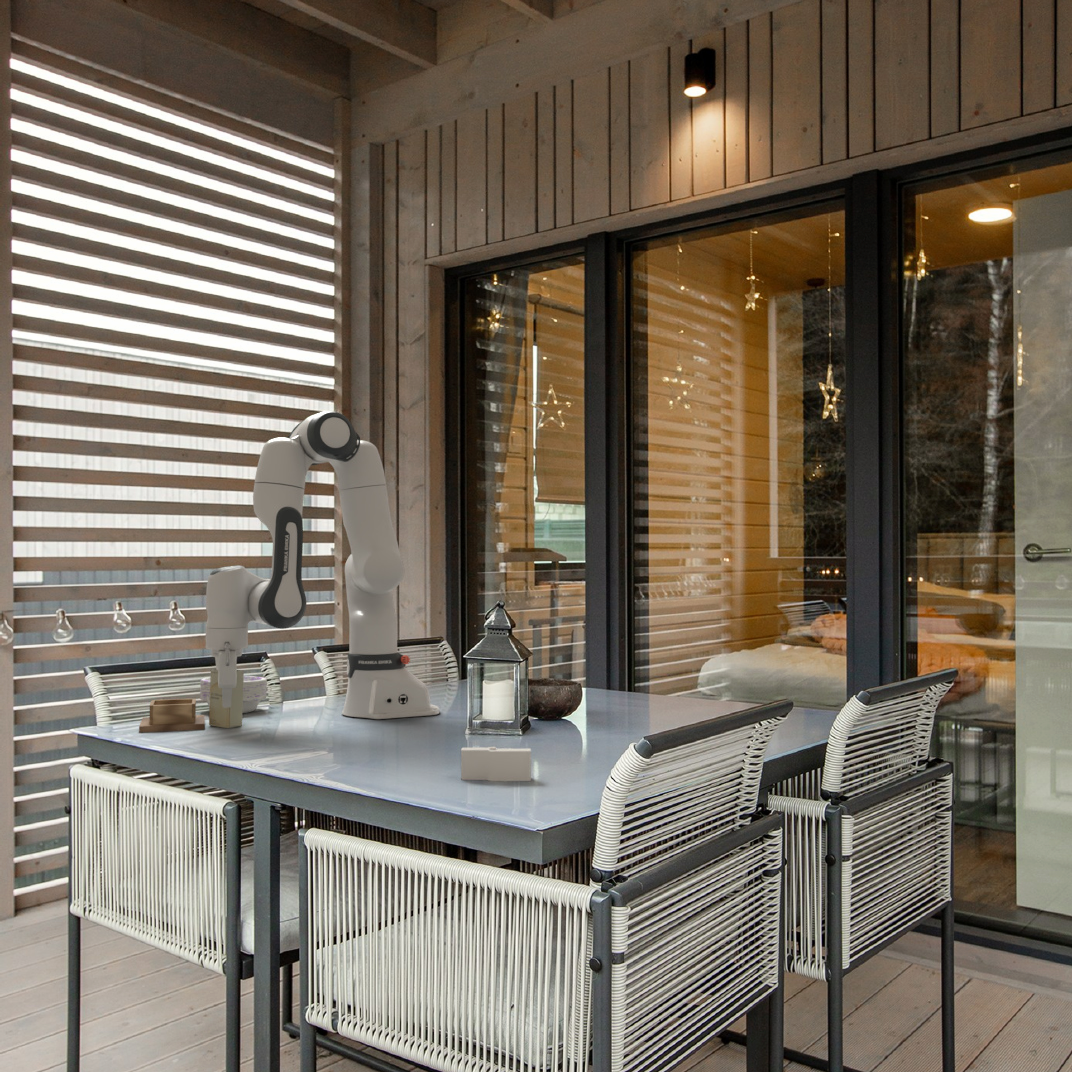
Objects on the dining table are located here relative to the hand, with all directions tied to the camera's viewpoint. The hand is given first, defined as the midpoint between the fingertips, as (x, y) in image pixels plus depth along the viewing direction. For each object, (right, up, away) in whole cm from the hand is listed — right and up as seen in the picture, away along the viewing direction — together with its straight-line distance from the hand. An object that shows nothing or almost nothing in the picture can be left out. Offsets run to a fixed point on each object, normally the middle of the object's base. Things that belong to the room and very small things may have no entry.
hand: (226, 704), depth 229 cm
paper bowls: (-5, -5, +22) cm, 23 cm away
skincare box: (0, -5, 0) cm, 5 cm away
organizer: (-11, -5, 0) cm, 12 cm away
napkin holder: (+60, -4, -54) cm, 81 cm away
